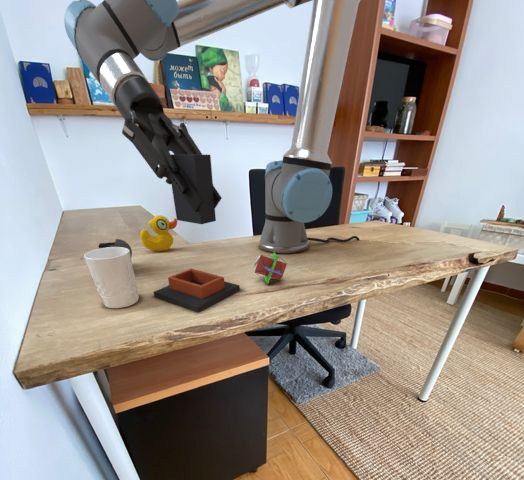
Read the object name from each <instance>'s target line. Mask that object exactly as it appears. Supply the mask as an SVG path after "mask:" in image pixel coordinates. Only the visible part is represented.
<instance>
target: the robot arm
mask: <svg viewBox="0 0 524 480" xmlns="http://www.w3.org/2000/svg"><path fill="white" fill-rule="evenodd" d="M311 1H312V9H311V13H310V15H311V16H310V21H309V26H308V27H309V29H308V34H307V41H306V48H305V54H304V61H303V68H302V74H301V79H300V80H301V81H300V86H299V94H298V98H297V99H298V101H297V106H296V112H295V120H294V126H293V132H292V140H291V145H290V148H289V149H288V150H287V151H286V152H285V153H284V154H283V156H282V160H274V161H270V162H268V163H267V164H266V166H265V174H264V181H265V182H264V183H265V192H264V193H265V196H264V197H265V199H264V200H265V206H264V207H265V222H264V225H263V228H262V231H261V236H260V239H259V248H260V249H261V250H262V251H264V252H268V253H270V252H271V253H272V252H273V253H274V252H275V253H276V254H283V255H284V254H285V255H286V254H297V253H302V252H304V251H306V250H307V249H308V248H309V241H310V242H311V241H312V242H313V241H314V242H319V243H329V242H330V241H335V242H339V243H347V242H351V241H352V240H354V239H355V240H356V241H361V239H360V238H359V236H356V235H352V236H350V237H348V238H345V239H341V238H337V237H328V238H327V239H322V238H316V237H308V233H307V231H306V226H305V223H311V222H313V221H316V220H318V219H319V218H320V217H321V216H323V215H324V214H325V212H326V211H327V209H328V208H329V206H330V205H331V201H332V198H333V184H332V182H331V179H330V173H331V168H332V164H333V162H332V160H331V158H330V156H329V154H328V152H329V147H330V143H331V137H332V132H333V128H334V123H335V118H336V114H337V109H338V103H339V99H340V94H341V89H342V85H343V80H344V75H345V70H346V66H347V61H348V56H349V51H350V48H351V47H350V46H351V42H352V38H353V37H352V36H353V33H354V28H355V22H356V19H357V13H358V9H359V4H360V3H361V2H362V0H103V1H102V2H100V3H99V4H98V5H95V4H94V3H93V2H92V1H90V0H73V1H72V2H70V3H69V4H68V6H67V8H66V10H65V12H64V16H63V17H64V18H63V23H64V29H65V33H66V36H67V38H68V39H69V41H70V43H71V45H72V46H73V48H74V49H75V51H76V53H77V55H78V57H79V58H80V59H81V61H82V62H83V63H84V65H85V66H86V67H87V69H88V70H89V72H90V73H91V74H92V76H93V77H94V78H95V80H96V81H97V83H98V84H99V85H100V87H101V88H102V89H103V91H104V92H105V93H106V95H107V97H108V98H109V99H110V101H111V102H112V104H113V105H114V106H115V108H116V109H117V111H118V112H119V114H120V115H121V117H122V118H123V120H124V122H123V126H122V130H121V134H122V135H123V136H124V137H125V138H126V139H128V141H129V142H131V143H132V145H133V146H134V148H135V149H136V150H137V152H138V153H139V154H140V155H141V156H142V158H143V159H144V161H145V162H146V164H147V165H148V166H149V168H150V169H151V170H152V172H153V173H154V174H155V175H156V177H157V178H158V179H161V180H162V179H164V178H165V183H166V184H168V185H171V184H172V183H173V184H174V185H175V187H176V188H177V190H178V191H179V192H180V193H181V194H183V195H184V197H185V198H186V200H187V201H188V203H189V204H190V205H191V207H192V208H193V210H194V211H195V212H197V211H198V210H199V209H200V207H201V205H202V204H203V202H204V200H203V198H202V197H201V195H200V194H199V193H198V191H197V190H196V188H195V187H194V185H193V184H192V183H191V181H190V180H189V178H188V177H187V175H186V174H185V173H184V171H183V170H179V172H177V171H178V168H177V166H176V164H175V162H174V160H173V158H172V156H171V152H172V154H197V155H203V153H202V152H201V150H200V148H199V147H198V145H197V143H195V141H194V139H193V138H192V136H191V135H190V133H189V131H188V128H187V125H186V124H185V123H184V122H180V123H179V125H178V124H174V123H173V121H172V119H170V117H169V116H167V115H166V114H165V110H164V106H163V102H162V99H161V97H160V96H159V95H158V93H157V91H156V90H155V89H154V88H153V86H152V85H151V83H150V82H149V80H148V78H147V77H146V75H145V73H143V71H142V70H141V68H140V67H139V66H138V64H137V63H136V61H135V59H136V58H137V57H138V56H139V55H140V54H141V55H142V56H143V57H144V58H145V59H147V60H149V61H151V62H159V61H162V60H163V59H164V58H165V57H166V56H167V55H168V53H170V52H173V51H175V50H177V49H179V48H181V47H184V46H186V45H188V44H191V43H193V42H195V41H199V40H200V39H203V38H205V37H208V36H210V35H213V34H215V33H217V32H220V31H222V30H225V29H227V28H229V27H232V26H233V25H236V24H239V23H242V22H244V21H247V20H249V19H251V18H254V17H256V16H259V15H261V14H264V13H266V12H269V11H270V10H273V9H275V8H277V7H278V8H279V7H280V6H283V5H285V6H286V7H288V8H289V9H293V8H295V7H298V6H301V5H303V4H304V5H305V4H306V3H309V2H311ZM213 193H214V205H215V209H216V208H217V206H218V205H219V203H220V202H221V200H222V198H223V197H222V196H221V194H220V193H219V191H218V190H217V189H216V187H215V186H214V185H213ZM273 253H272V254H273Z"/></svg>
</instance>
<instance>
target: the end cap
mask: <svg viewBox="0 0 524 480" xmlns="http://www.w3.org/2000/svg"><path fill="white" fill-rule="evenodd" d="M97 247H98V249H100V248H107V247H123V248H127V249H129V251H130V255H131V258H132V256H133V250H132V247H131V246H130V245H129V243H128V242H126V241H125V240H123V239H120V238H116V239H115V241H112V242H103V243H102V242H100V243H99V244H98V246H97Z"/></svg>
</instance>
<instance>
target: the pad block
mask: <svg viewBox="0 0 524 480" xmlns="http://www.w3.org/2000/svg"><path fill="white" fill-rule="evenodd" d="M170 154H171V153H170ZM171 156H172V158H173V160H174V162H175V164H176V166H177V168H178V171H177V172H179V170H183V171H184V173H185V174H186V175H187V177H188V178H189V180H190V181H191V183H192V184H193V185H194V187H195V188H196V190H197V191H198V193H199V194H200V195H201V197H202V198H203V200H204V202H203V204H202V205H201V207H200V209H199V210H198V211H197V212H195V211H194V210H193V208H192V207H191V205H190V204H189V203H188V201H187V200H186V198H185V197H184V195H183V194H181V193H180V192H179V191H178V190H177V188H176V187H175V185H174V184H173V183H172V184H170V186H171V191H172V196H173V197H172V198H173V203H174V211H175V217H176V219H177V221H180V222H185V223H190V224H197V225H205V224H209V223H213V222H216V221H217V218H216V208H215V205H214V193H213V186H214V183H213V181H214V180H213V170H212V159H211V158H212V157H211V154H202V155H197V154H174V153H172V154H171Z"/></svg>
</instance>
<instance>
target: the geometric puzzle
mask: <svg viewBox="0 0 524 480" xmlns="http://www.w3.org/2000/svg"><path fill="white" fill-rule="evenodd" d="M269 253H270V254H269ZM269 253H265V254H260V255H258V256H257V257H256V259H255V261H254V263H253V265H254V267H255V269H254V272H253V273H254V274H256V275H258V277H261V279H262V278H263V282H264V283H265V284H266V285H271V282H270V281H271V279H272V280H273V282H276V281H278V282H279V281H281V280H282V278H283V276H284V273H285V270H286V268H287V265H288V263H287V262H286V261H285V260H284V259H283V258H282V257H281V256H280V255H278V253H275V252H274V253H273V252H269ZM266 254H268V255H266ZM271 254H272V255H271ZM269 256H271V257H269ZM280 259H281V260H282V261H281V260H280ZM261 275H262V276H261Z"/></svg>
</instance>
